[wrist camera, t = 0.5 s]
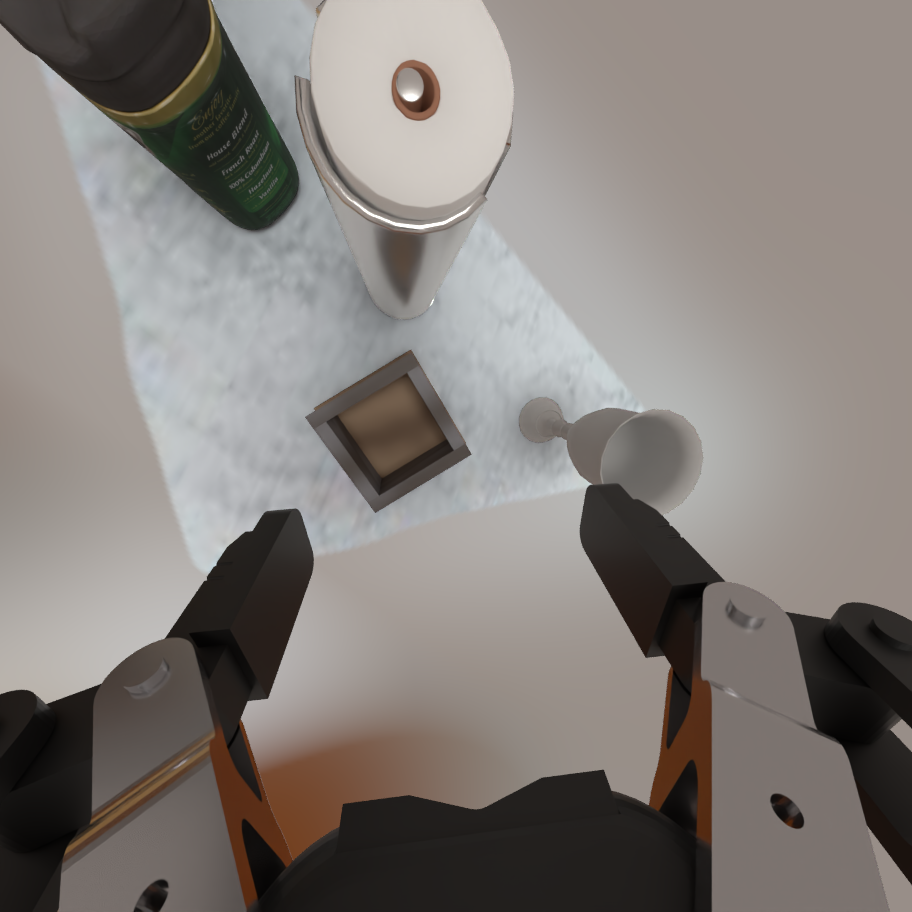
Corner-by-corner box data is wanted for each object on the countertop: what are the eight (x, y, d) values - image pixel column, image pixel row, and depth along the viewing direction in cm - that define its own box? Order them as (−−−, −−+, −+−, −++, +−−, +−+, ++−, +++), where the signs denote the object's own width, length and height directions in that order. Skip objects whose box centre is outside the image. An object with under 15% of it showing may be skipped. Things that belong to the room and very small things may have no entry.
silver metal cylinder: (409, 230, 32) (438, -145, 8) (449, 294, 34) (565, 137, 10) (352, 272, 32) (222, 20, 9) (395, 333, 34) (387, 268, 10)
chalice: (582, 421, 40) (722, 466, 23) (539, 463, 40) (643, 538, 23) (542, 374, 38) (663, 383, 20) (497, 419, 38) (577, 465, 21)
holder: (315, 407, 35) (299, 415, 29) (410, 349, 35) (412, 347, 29) (377, 493, 38) (374, 516, 32) (464, 441, 38) (475, 455, 32)
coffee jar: (318, 182, 30) (204, -73, 13) (255, 249, 31) (62, 96, 13) (220, 71, 28) (-104, -458, 10) (153, 147, 28) (-268, -224, 10)
